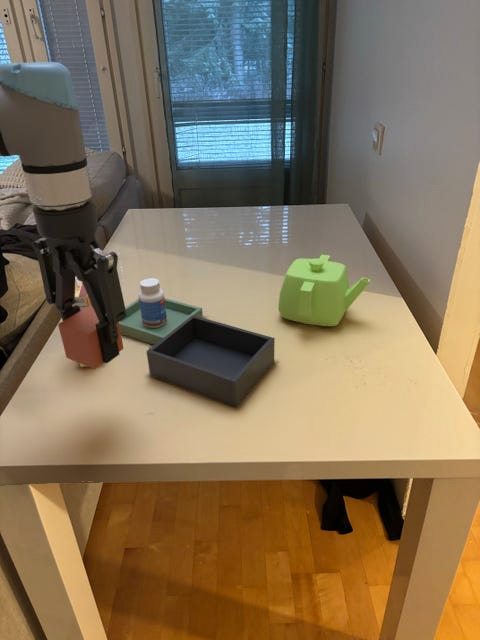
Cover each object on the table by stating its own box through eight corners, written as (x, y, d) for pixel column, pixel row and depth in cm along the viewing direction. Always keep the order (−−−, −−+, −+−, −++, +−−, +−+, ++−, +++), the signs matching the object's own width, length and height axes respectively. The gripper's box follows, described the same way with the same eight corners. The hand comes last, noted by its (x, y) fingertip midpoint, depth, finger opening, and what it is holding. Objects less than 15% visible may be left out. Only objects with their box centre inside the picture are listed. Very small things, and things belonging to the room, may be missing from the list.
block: (66, 357, 70) (57, 324, 67) (95, 338, 74) (88, 305, 71) (95, 369, 67) (87, 334, 64) (123, 348, 72) (117, 315, 69)
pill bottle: (167, 327, 100) (162, 287, 95) (142, 330, 99) (136, 289, 94) (167, 314, 105) (162, 275, 100) (142, 317, 104) (136, 277, 99)
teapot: (370, 301, 109) (377, 249, 102) (356, 347, 93) (363, 289, 86) (294, 289, 115) (296, 239, 108) (268, 331, 99) (269, 275, 92)
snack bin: (150, 375, 87) (146, 351, 84) (194, 337, 98) (192, 314, 95) (236, 407, 79) (235, 381, 76) (274, 362, 89) (274, 338, 87)
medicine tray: (108, 329, 101) (106, 319, 100) (148, 302, 111) (147, 293, 110) (165, 348, 94) (164, 338, 93) (202, 318, 104) (202, 308, 103)
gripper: (140, 203, 57) (159, 356, 69) (36, 185, 66) (69, 325, 78) (96, 221, 52) (125, 384, 64) (-12, 199, 60) (32, 347, 72)
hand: (94, 351), depth 71 cm, fingers closed on block, 6 cm apart
